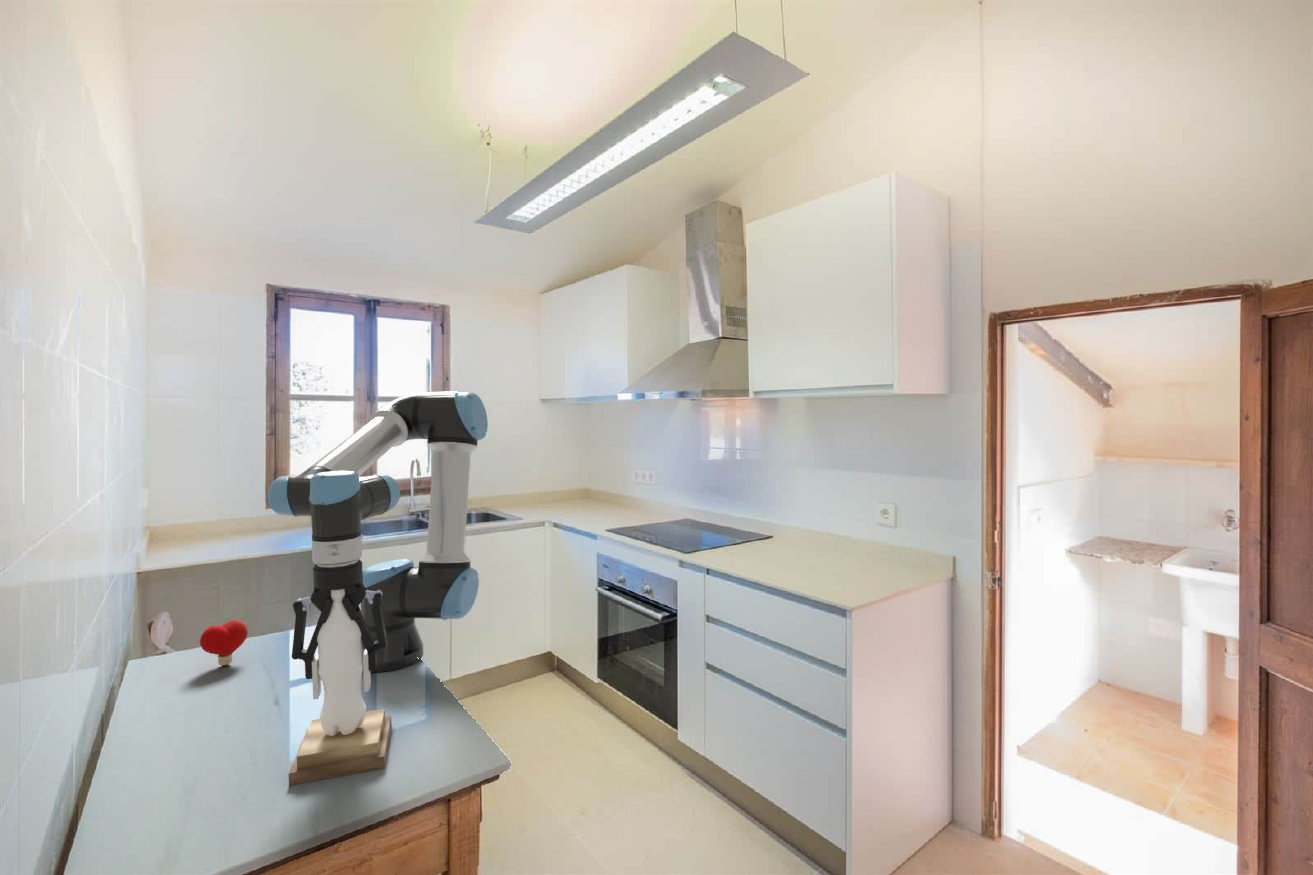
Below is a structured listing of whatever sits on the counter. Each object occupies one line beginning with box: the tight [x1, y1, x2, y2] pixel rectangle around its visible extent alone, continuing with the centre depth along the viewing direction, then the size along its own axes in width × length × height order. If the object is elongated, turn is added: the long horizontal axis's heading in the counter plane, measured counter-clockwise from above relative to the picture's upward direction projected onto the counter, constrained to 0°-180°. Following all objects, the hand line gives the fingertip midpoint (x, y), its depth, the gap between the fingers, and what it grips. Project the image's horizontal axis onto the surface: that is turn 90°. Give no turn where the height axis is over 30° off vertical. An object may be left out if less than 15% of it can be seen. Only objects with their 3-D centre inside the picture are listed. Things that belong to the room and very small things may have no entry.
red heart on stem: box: [199, 620, 248, 667], centre depth 141 cm, size 9×7×10 cm
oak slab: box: [296, 708, 386, 769], centre depth 105 cm, size 12×12×2 cm
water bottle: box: [317, 589, 367, 736], centre depth 105 cm, size 7×7×25 cm
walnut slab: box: [288, 715, 393, 786], centre depth 105 cm, size 14×14×2 cm
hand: (342, 691), depth 105 cm, fingers closed on water bottle, 7 cm apart
